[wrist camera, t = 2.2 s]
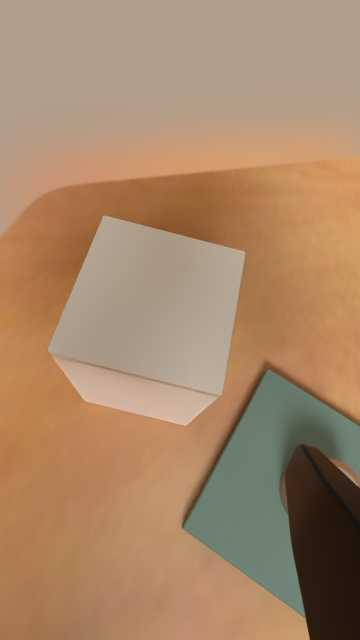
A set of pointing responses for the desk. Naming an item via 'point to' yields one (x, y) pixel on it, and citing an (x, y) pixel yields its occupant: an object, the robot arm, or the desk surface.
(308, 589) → the robot arm
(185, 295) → the white lidded box
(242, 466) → the mat
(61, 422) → the desk surface
